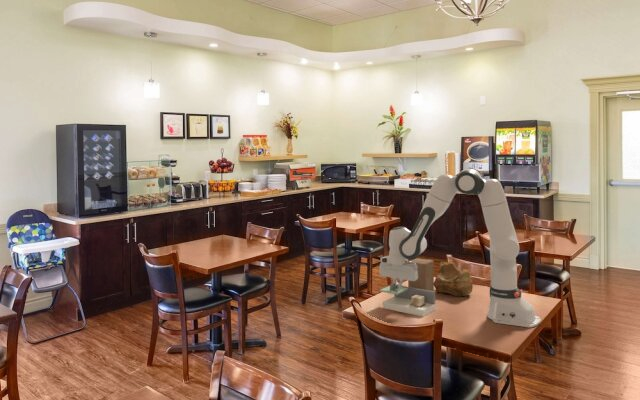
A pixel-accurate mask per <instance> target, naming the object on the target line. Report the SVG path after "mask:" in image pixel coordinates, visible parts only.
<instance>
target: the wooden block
mask: <svg viewBox="0 0 640 400" xmlns="http://www.w3.org/2000/svg"><path fill="white" fill-rule="evenodd" d="M409 261H410V262H415V263H416V264H417V271H418V279H417V280H416V281H408V280H407V281H408V283H407V285H408V286H407V287H412V288H418V289H423V290H429V291H434V292H435V287H434V281H435V273H434V272H435V270H434V267H435V266H434V263H435V262H434V259H428V258H427V259H425V258H419V257H417V258H415V259H413V260H409Z"/></svg>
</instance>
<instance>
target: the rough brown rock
mask: <svg viewBox="0 0 640 400" xmlns="http://www.w3.org/2000/svg"><path fill="white" fill-rule="evenodd" d="M438 267H439V269H438V272H437V275H436V277H435V278H434V290H435V292H436V293H441V294H442V293H447V294H449V295H452V296H454V297H460V296H462V297H463V296H468V295H470V294H471V293H472V292H473V289H474V288H473V286H474V285H473V280H472V277H471V272H470V270H469V269H463V270H461V269H460V268H458V267H457V265H456V263H455V262H451V261H447V262H446V261H440V262H439V266H438Z"/></svg>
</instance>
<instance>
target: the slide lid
mask: <svg viewBox="0 0 640 400" xmlns="http://www.w3.org/2000/svg"><path fill="white" fill-rule="evenodd" d="M407 290H408V288H404V287H401V288H399V287H395V283H394V282H391V283H390V284H389V285H388V286H385V287H384V288H381V289H379V292H380V293H387V294H391V295H394V294H396V295H398V294H400V293H402V292H405V291H407Z"/></svg>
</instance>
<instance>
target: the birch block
mask: <svg viewBox="0 0 640 400" xmlns="http://www.w3.org/2000/svg"><path fill="white" fill-rule="evenodd" d="M411 306H415V307H419V308H421V307H423V306H424V296H420V295H415V296H413V297H411Z"/></svg>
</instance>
